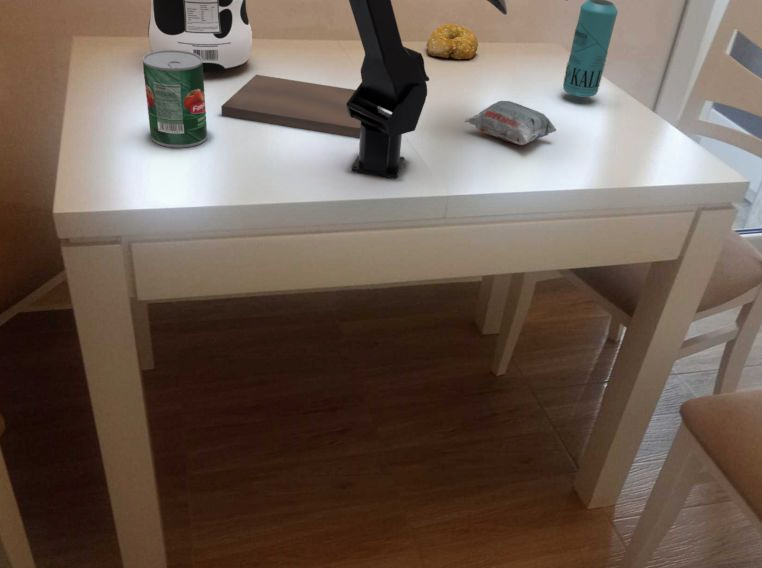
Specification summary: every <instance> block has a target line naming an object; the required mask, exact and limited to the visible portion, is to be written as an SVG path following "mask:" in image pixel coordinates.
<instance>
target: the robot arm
mask: <svg viewBox="0 0 762 568" xmlns="http://www.w3.org/2000/svg"><path fill="white" fill-rule="evenodd" d="M486 1H487V2H489V3H490V4H491V5H492V6H494V7H495V8H496V9H497V10H499V12H500V13H502V14H503V15H504V16H505V15H507V14H508V8H507V4H506V3H507V2H506V0H486ZM565 1H568V0H565ZM348 2H349V7H350V9H351V12H352V15H353V18H354V21H355V25H356V28H357V32H358V35H359V38H360V41H361V45H362V48H363V51H364V57H363V61H362V63H361V67H360V76H361V78H360V79H361V81H360V84H359V85H358V86H357V88H356V89H355V90H356V91H355V92H354V94H353V95H352V96H351V98H350V99H349V101H348V102H347V104H346V106H347V110H348V114H349V117H351V118H355V119H357V120H359V121H361V128H360V138H359V146H358V155H357V157H356V159H355V160H354V162H353V164H352V165H351V170H350V171H352V172H356V173H362V174H367V175H368V174H369V175H373V176H381V177H386V178H393V179H397V178H398V177H399V175H400V173H401V170H402V169H403V166H404V164H405V162H406V157H404V156H401V149H402V138H403V137H402V136H403V135H405V134H408V133H411V132H414V131H416V128H417V126H418V123H419V120H420V117H421V115H422V111H423V108H424V106H425V103H426V101H427V100H426V99H427V96H428V84H427V82H429V81H430V77H429V76H428V75H427V72H426V69H425V60H424V57H423V55H422V53H421V52H418V51H416V50H414V49H411V48H408V47H406V46H404V45H403V41H402V39H401V38H402V37H401V34H400V31H399V30H400V29H399V26H398V22H397V19H396V15H395V11H394V7H393V2H392V0H348ZM378 106H380V109H379V108H378ZM381 108H382V109H381ZM383 109H384V110H383ZM387 111H388V112H387Z"/></svg>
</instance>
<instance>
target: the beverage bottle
mask: <svg viewBox="0 0 762 568" xmlns="http://www.w3.org/2000/svg"><path fill="white" fill-rule="evenodd" d="M618 12H619V11H618V9H617V7H616V5H615V4H614V3H613V2H612V1H610V0H586V1H585V2H583V3H582V4H580V9H579V15H578V18H577V23H576V24H577V25H576V26H575V28H574V32H573V38H572V45H571V49H570V53H569V58H568V61H567V63H566V68H565V73H564V76H563V81H562V82H563V83H562V86H563V87H562V88H563V91H564V92H566V93H567V94H570V95H573V96H577V97H582V98H583V97H585V98H589V97H595V96H596V95H597V93H598V91H600V85H601V83H602V80H603V79H602V77H603V73H604V69H605V67H606V63H607V58H608V54H609V53H608V52H609V47H610V43H611V39H612V35H613V31H614V27H615V23H616V19H617V16H618Z"/></svg>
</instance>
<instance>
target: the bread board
mask: <svg viewBox="0 0 762 568" xmlns="http://www.w3.org/2000/svg"><path fill="white" fill-rule="evenodd" d="M355 91H356V89H352V88H345V87H339V86H333V85H326V84H321V83H314V82H307V81H301V80H294V79H293V80H292V79H287V78H281V77H274V76H267V75H260V74H255V75H254V76H253V77H252V78H251V79H249V80H248V82H246V83H245V84H244V85H243V86H242V87H241V88H239V89H238V90H237V91H236V92H235V93H234V94H233V95H232V96H231V97H230V98H229V99H227V100H226V101H225V102H224V103H222V105H221V106H220V107H221V116H223V117H229V118H235V119H241V120H247V121H252V122H260V123H265V124H266V123H267V124H273V125H279V126H286V127H290V128H297V129H303V130H310V131H315V132H322V133H329V134H333V135H334V134H335V135H340V136H345V137H346V136H347V137H353V138H359V139H360V128H361V121H359V120H357V119H355V118H351V117H349V114H348V110H347V106H346V104H347V102H348V101H349V99H350V98H351V96H352V95H353V94H354V92H355ZM378 108H379V109H381V107H380V106H378Z"/></svg>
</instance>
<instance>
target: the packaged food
mask: <svg viewBox="0 0 762 568" xmlns="http://www.w3.org/2000/svg"><path fill="white" fill-rule="evenodd" d="M463 122H464V123H469V124H470V125H473V126H475V128H476V129H477V130H478V131H480V132H481V133H483V134H487V135H489V136H492V137H495V138H497V139H500V140H503V141H505V142H508V143H511V144H514V145H519V146H524V145H526V144H528V143H530V142H533V141H536V140H538V139H542V138H543V137H546V136H548V135H549V134H552V133H556V131H557V129H556V127H555V125H554V124H553V123H552V122H551V120H550V119H549V118H548V117H547V116H546V115H545V114H544V113H542V112H540V111H537V110H535V109H533V108H530V107H528V106H524V105H523V104H520V103H517V102H513V101H511V100H499V101H497V102H495V103H493V104H491V105H489V106H487V107H486V108H484V109H483V110H481V111H480V112H479V113H478V114H475V115H473V116H472V117H471V116H470V117H468V118H465V119H464V120H463Z"/></svg>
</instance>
